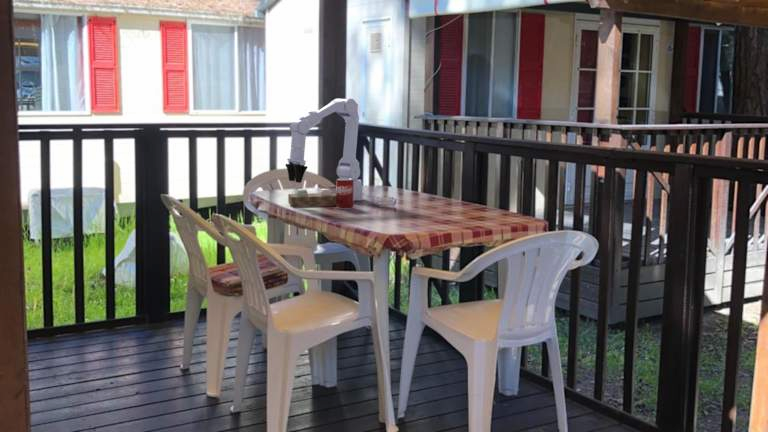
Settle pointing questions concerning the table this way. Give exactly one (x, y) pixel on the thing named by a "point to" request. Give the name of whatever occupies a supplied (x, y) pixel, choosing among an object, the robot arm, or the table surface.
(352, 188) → the soda can
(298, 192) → the sage button
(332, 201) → the button panel
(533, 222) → the table surface
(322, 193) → the cream button
